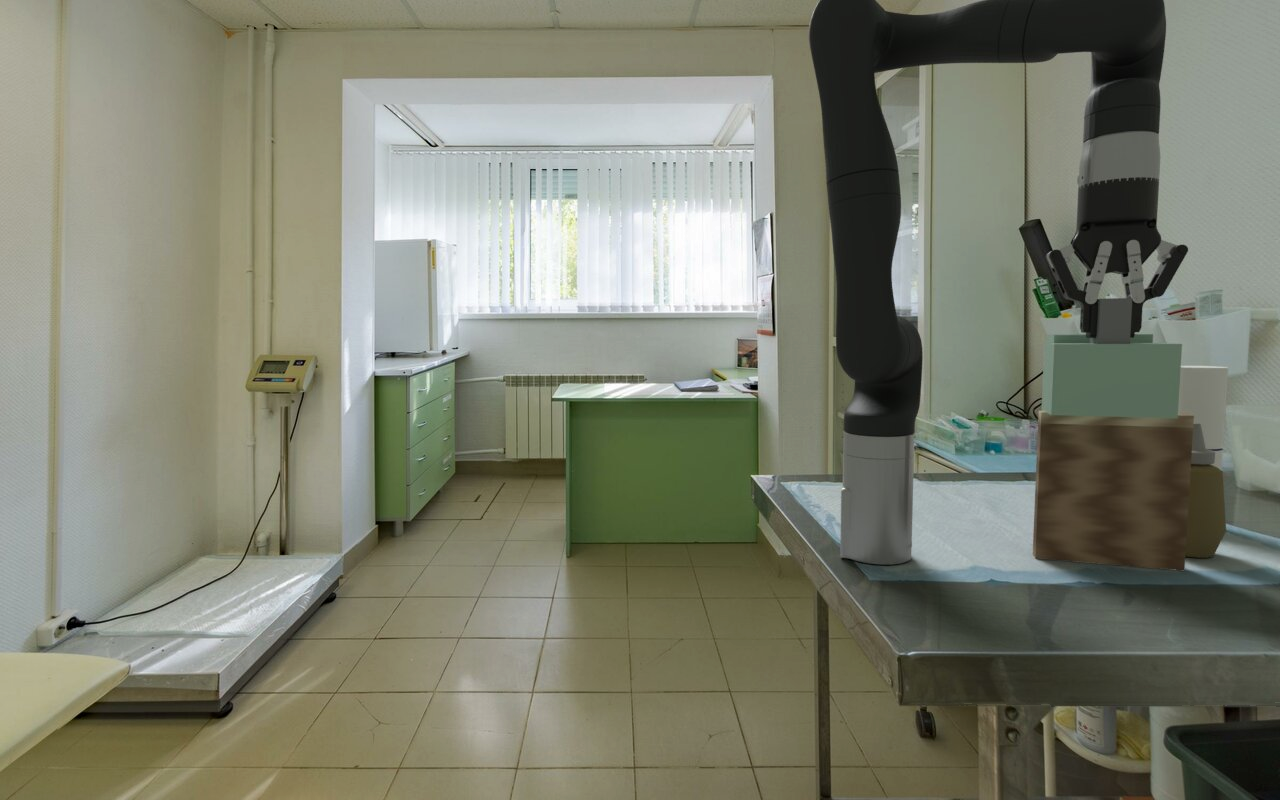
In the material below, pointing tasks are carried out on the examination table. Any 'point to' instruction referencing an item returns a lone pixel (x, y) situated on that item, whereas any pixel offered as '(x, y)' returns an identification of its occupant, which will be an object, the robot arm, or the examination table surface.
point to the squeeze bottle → (1204, 501)
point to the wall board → (1113, 489)
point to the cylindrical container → (1206, 403)
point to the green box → (1111, 370)
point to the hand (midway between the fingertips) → (1109, 336)
